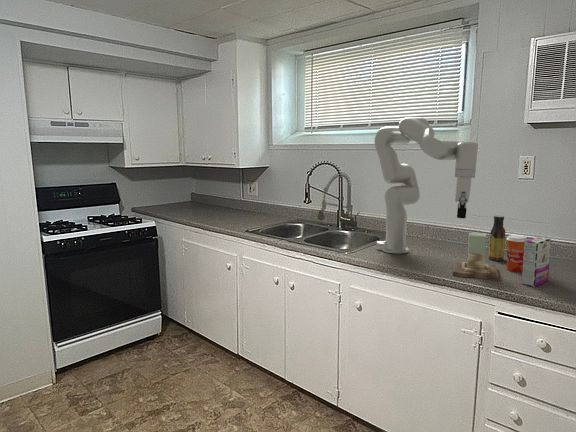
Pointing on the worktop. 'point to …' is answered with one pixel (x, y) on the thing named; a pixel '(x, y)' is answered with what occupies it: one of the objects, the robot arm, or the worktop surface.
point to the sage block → (477, 243)
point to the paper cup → (515, 252)
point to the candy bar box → (536, 261)
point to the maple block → (475, 261)
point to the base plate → (476, 271)
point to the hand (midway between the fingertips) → (461, 215)
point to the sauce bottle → (497, 239)
